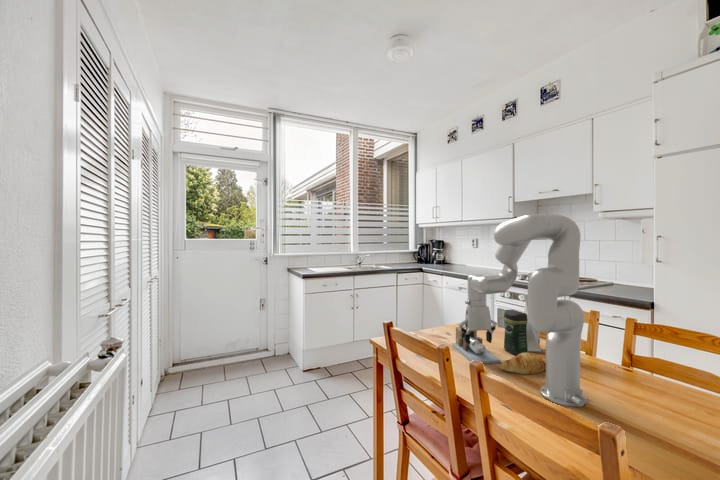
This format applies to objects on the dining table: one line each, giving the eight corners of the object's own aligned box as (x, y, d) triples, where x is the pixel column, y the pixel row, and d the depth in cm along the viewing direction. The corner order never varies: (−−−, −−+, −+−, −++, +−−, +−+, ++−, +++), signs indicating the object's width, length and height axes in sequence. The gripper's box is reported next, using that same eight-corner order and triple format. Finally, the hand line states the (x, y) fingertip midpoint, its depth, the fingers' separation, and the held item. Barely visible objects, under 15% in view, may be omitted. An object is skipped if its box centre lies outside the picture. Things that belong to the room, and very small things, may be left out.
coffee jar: (531, 354, 140) (531, 312, 140) (515, 356, 138) (515, 313, 138) (515, 347, 150) (515, 307, 149) (500, 348, 148) (500, 308, 147)
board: (500, 362, 132) (500, 360, 132) (472, 364, 131) (472, 361, 131) (476, 344, 154) (476, 342, 154) (452, 345, 153) (451, 343, 153)
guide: (482, 350, 143) (482, 339, 143) (465, 351, 143) (465, 340, 142) (479, 347, 146) (479, 337, 146) (462, 348, 146) (462, 337, 145)
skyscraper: (546, 353, 141) (546, 290, 140) (526, 353, 142) (526, 290, 142) (538, 347, 149) (538, 287, 149) (520, 346, 151) (520, 287, 150)
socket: (476, 345, 149) (476, 329, 149) (459, 346, 149) (459, 329, 148) (472, 342, 154) (472, 326, 153) (455, 343, 153) (455, 327, 153)
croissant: (503, 383, 122) (508, 369, 118) (491, 361, 131) (495, 347, 127) (555, 379, 124) (562, 365, 120) (540, 358, 132) (546, 344, 128)
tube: (485, 354, 137) (485, 343, 137) (474, 355, 137) (474, 343, 137) (471, 343, 151) (471, 333, 151) (461, 344, 151) (461, 333, 151)
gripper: (461, 305, 135) (462, 346, 135) (500, 303, 137) (501, 344, 137) (454, 302, 142) (455, 340, 142) (491, 300, 144) (492, 338, 144)
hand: (478, 342), depth 139 cm, fingers open, 9 cm apart
